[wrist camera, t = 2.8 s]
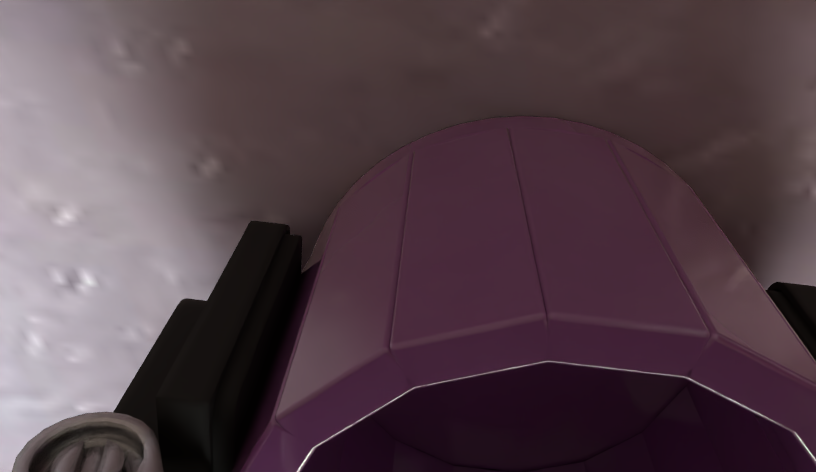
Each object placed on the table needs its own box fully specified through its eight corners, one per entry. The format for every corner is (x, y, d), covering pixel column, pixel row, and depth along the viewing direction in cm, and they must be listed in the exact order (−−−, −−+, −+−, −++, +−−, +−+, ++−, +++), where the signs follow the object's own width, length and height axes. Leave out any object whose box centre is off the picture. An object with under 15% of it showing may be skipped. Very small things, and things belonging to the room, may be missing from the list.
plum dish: (315, 87, 10) (209, 274, 6) (787, 143, 10) (1050, 371, 6) (299, 441, 13) (222, 740, 9) (660, 483, 13) (766, 801, 9)
